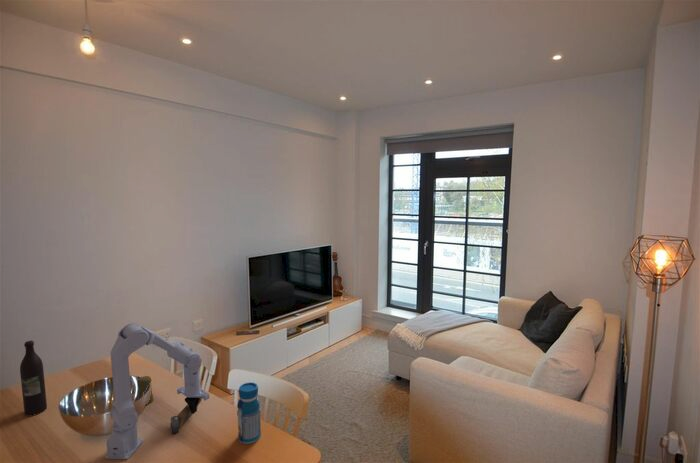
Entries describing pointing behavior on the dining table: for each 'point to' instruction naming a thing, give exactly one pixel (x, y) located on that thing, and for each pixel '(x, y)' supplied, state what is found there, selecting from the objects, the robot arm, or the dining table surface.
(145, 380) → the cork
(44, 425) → the dining table surface
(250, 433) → the beverage bottle
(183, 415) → the handle
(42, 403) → the wine bottle
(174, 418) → the hammer
